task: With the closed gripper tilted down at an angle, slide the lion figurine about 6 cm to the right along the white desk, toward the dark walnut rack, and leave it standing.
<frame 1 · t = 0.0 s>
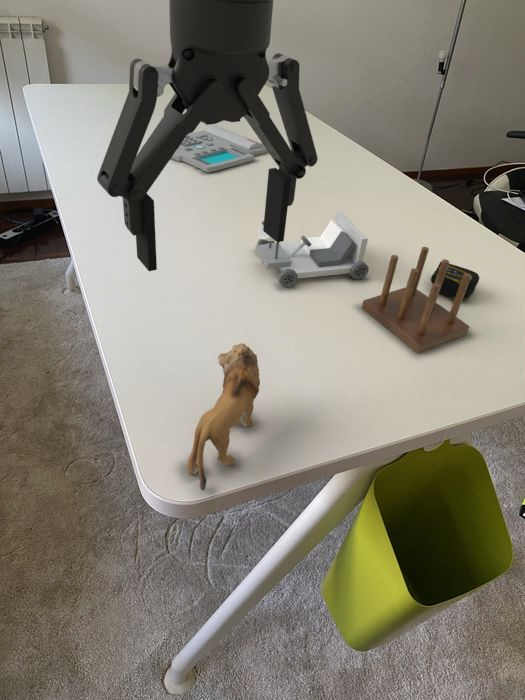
hand: (213, 249, 53), 20 cm above the table, tool pointing down, fingers open, 13 cm apart
tape measure: (448, 290, 90), on the table
toy car: (303, 267, 92), on the table
lion figurine: (222, 438, 61), on the table
walnut rack: (413, 321, 82), on the table
office telephone: (212, 152, 130), on the table
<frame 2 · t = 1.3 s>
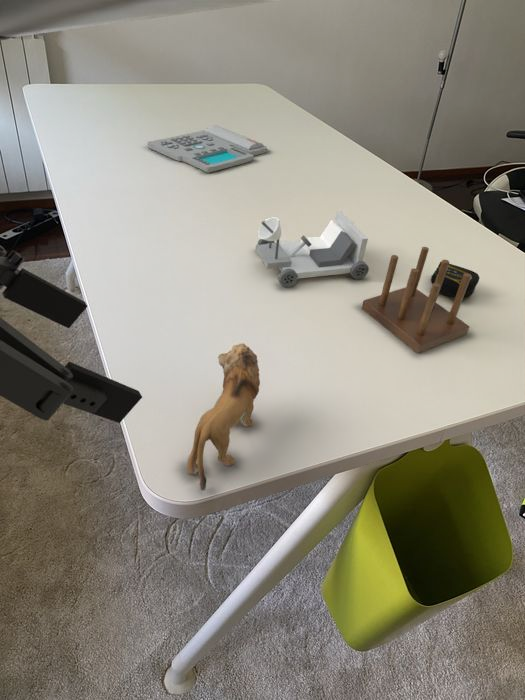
hand: (101, 357, 46), 16 cm above the table, tool tilted 45°, fingers open, 12 cm apart
nothing on the table moved.
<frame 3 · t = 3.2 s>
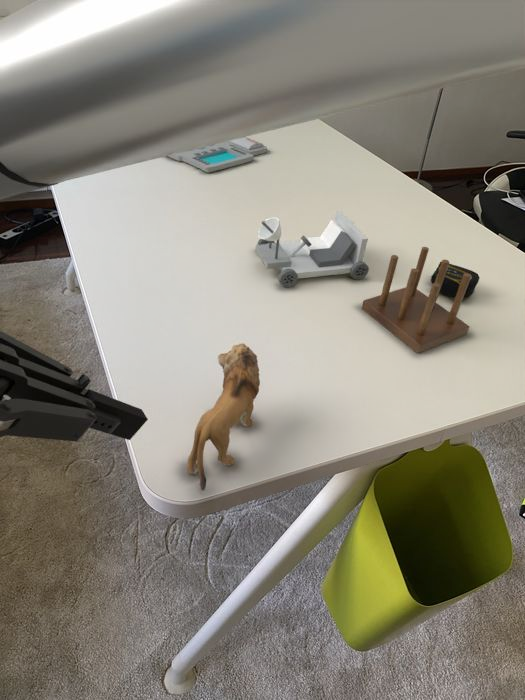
hand: (135, 424, 52), 7 cm above the table, tool tilted 45°, fingers closed
nothing on the table moved.
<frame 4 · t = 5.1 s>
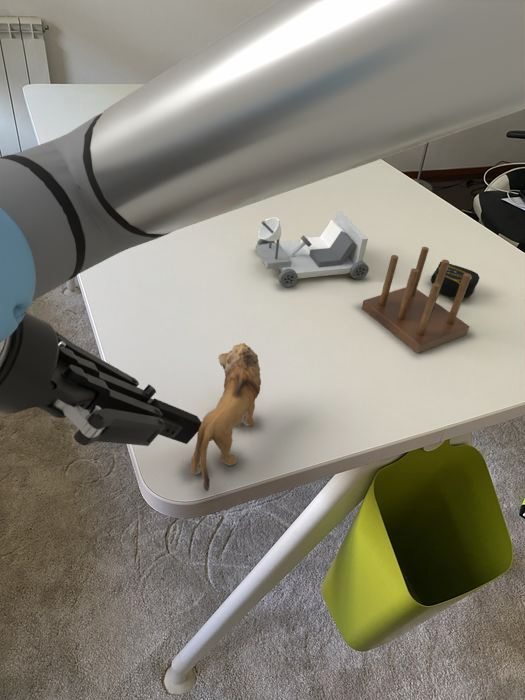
hand: (191, 429, 57), 3 cm above the table, tool tilted 45°, fingers closed
nothing on the table moved.
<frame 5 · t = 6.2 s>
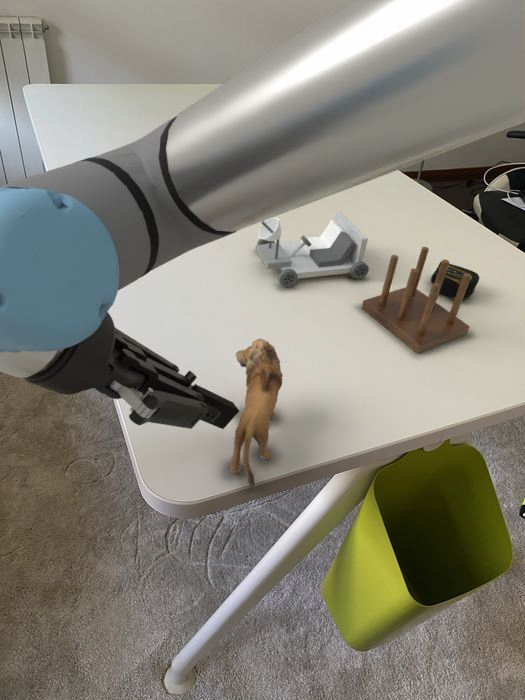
hand: (227, 415, 59), 3 cm above the table, tool tilted 45°, fingers closed
lion figurine: (250, 433, 62), on the table
everything else where it was.
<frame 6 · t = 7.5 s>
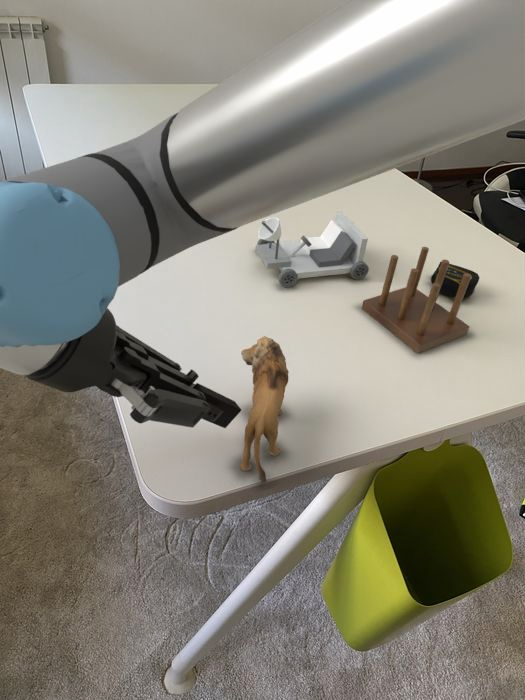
hand: (229, 414, 59), 3 cm above the table, tool tilted 45°, fingers closed
lion figurine: (258, 431, 62), on the table
everything else where it was.
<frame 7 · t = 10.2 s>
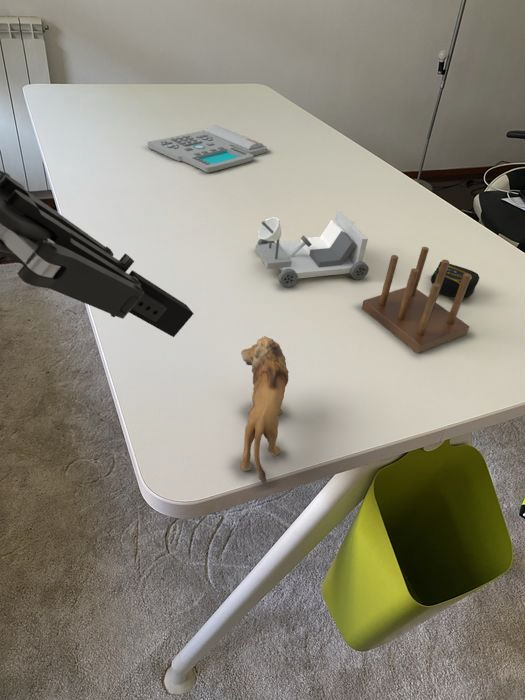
hand: (179, 320, 47), 17 cm above the table, tool tilted 45°, fingers closed
nothing on the table moved.
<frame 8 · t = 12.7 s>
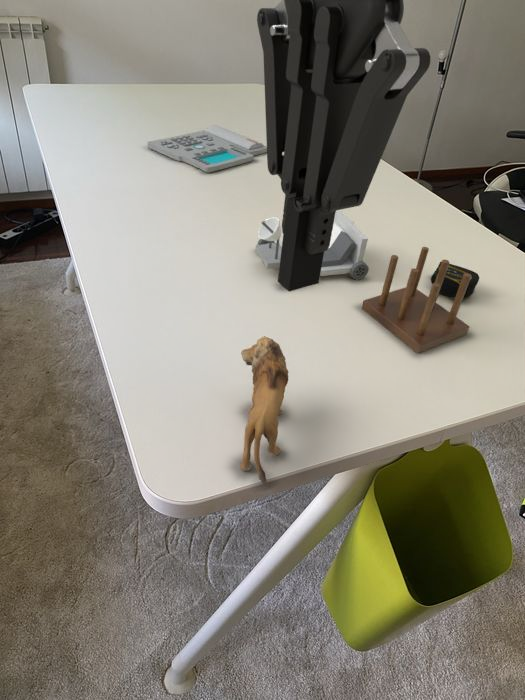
hand: (298, 282, 41), 24 cm above the table, tool pointing down, fingers closed
nothing on the table moved.
at the end: lion figurine moved 4.3 cm from its start; lion figurine tilted 0° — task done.
